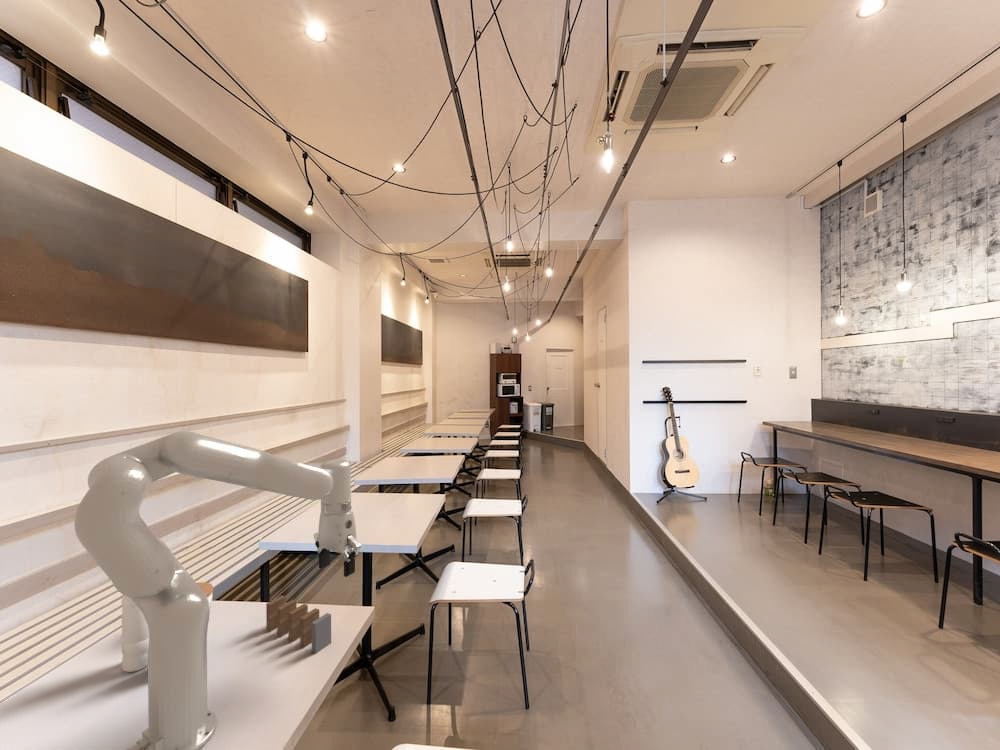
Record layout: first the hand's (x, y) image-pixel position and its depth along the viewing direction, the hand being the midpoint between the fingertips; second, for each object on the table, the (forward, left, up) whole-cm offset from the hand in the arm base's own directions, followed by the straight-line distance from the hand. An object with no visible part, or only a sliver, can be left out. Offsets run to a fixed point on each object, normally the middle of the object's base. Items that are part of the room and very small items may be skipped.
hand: (336, 570), depth 109 cm
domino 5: (0, +6, -23) cm, 23 cm away
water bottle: (-26, +43, -23) cm, 55 cm away
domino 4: (0, +11, -23) cm, 25 cm away
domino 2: (0, +21, -23) cm, 31 cm away
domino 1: (0, +26, -23) cm, 34 cm away
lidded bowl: (-11, +52, -23) cm, 58 cm away
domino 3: (0, +16, -23) cm, 27 cm away
